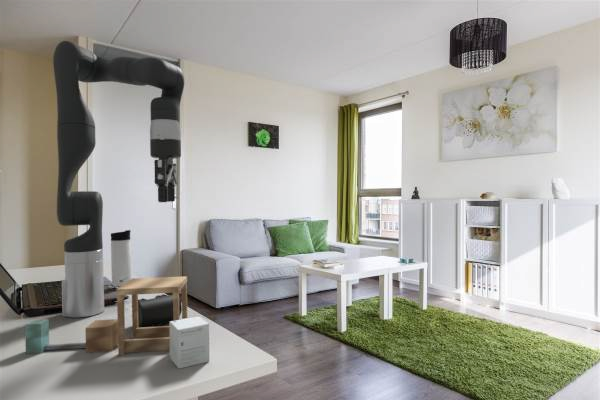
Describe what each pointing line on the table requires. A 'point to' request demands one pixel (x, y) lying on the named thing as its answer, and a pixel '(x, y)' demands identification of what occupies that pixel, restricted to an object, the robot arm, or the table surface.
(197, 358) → the product box
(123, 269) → the travel mug
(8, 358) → the table surface
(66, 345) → the corded block
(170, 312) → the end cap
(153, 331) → the shelf lane
